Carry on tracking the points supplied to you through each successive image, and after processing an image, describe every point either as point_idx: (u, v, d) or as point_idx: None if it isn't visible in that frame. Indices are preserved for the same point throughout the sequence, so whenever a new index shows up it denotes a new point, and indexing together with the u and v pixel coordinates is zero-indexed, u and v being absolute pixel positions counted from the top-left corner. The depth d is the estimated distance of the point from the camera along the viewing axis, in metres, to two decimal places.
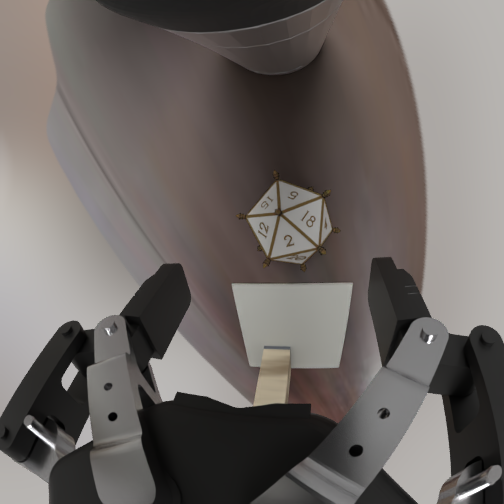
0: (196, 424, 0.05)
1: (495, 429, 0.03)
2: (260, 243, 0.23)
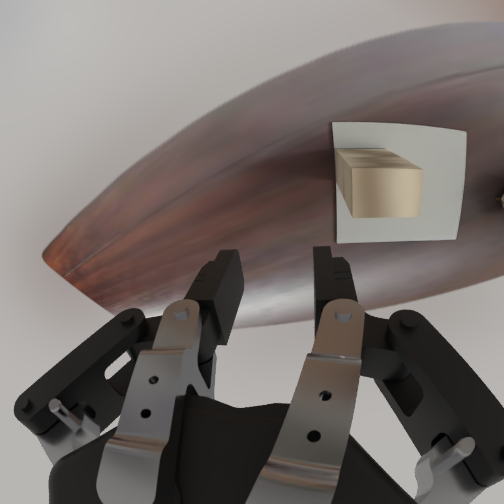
0: (196, 424, 0.05)
1: (449, 406, 0.04)
2: None
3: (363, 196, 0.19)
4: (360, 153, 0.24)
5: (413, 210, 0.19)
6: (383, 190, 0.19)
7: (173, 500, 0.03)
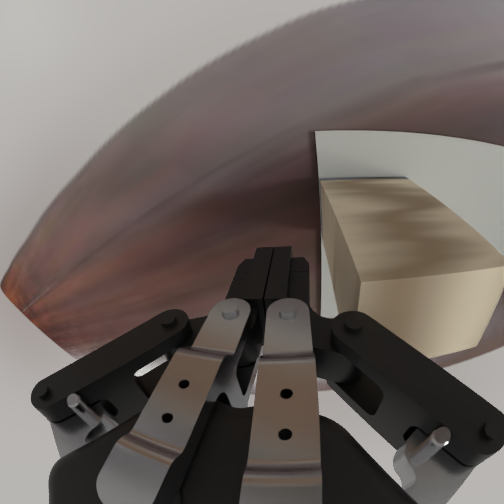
0: None
1: (413, 401, 0.04)
2: None
3: None
4: (369, 196, 0.12)
5: (470, 339, 0.07)
6: (425, 318, 0.07)
7: None
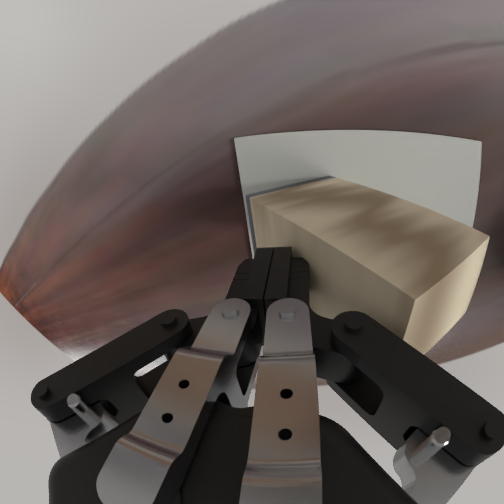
0: None
1: (413, 401, 0.04)
2: None
3: (415, 341, 0.07)
4: (321, 204, 0.12)
5: (463, 310, 0.09)
6: (444, 308, 0.07)
7: None
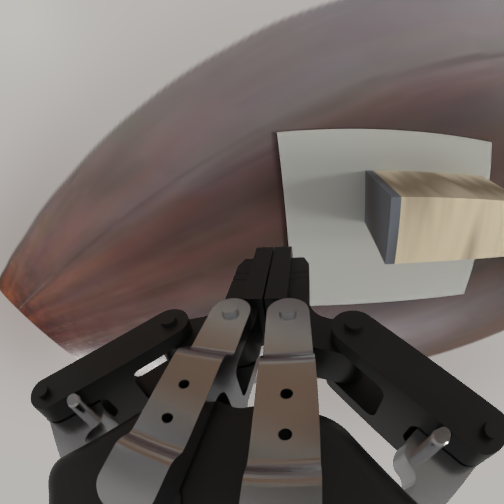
0: None
1: (413, 401, 0.04)
2: None
3: None
4: (437, 186, 0.13)
5: None
6: None
7: None
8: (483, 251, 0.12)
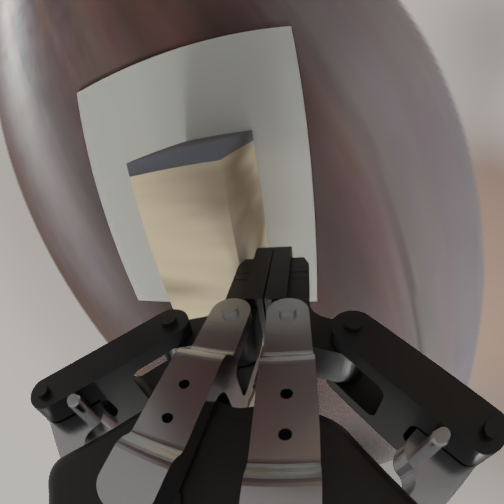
0: None
1: (413, 401, 0.04)
2: None
3: None
4: (247, 224, 0.12)
5: None
6: None
7: None
8: (181, 309, 0.13)
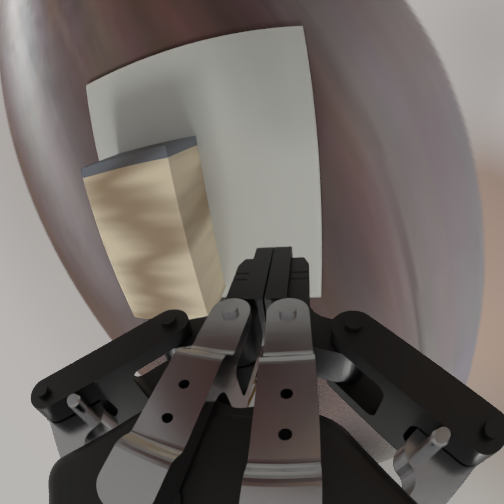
0: None
1: (413, 401, 0.04)
2: None
3: None
4: (124, 228, 0.14)
5: None
6: None
7: None
8: None
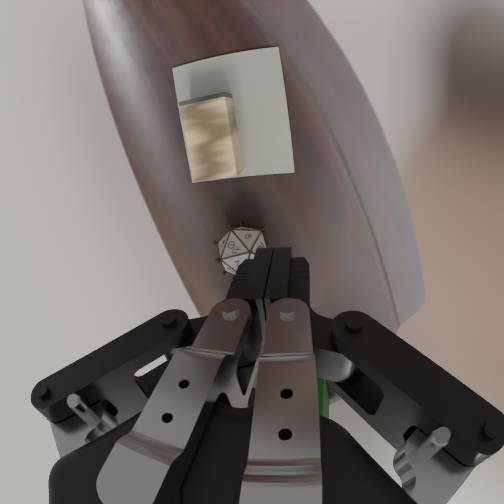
0: None
1: (413, 401, 0.04)
2: None
3: None
4: (199, 128, 0.31)
5: None
6: None
7: None
8: None
